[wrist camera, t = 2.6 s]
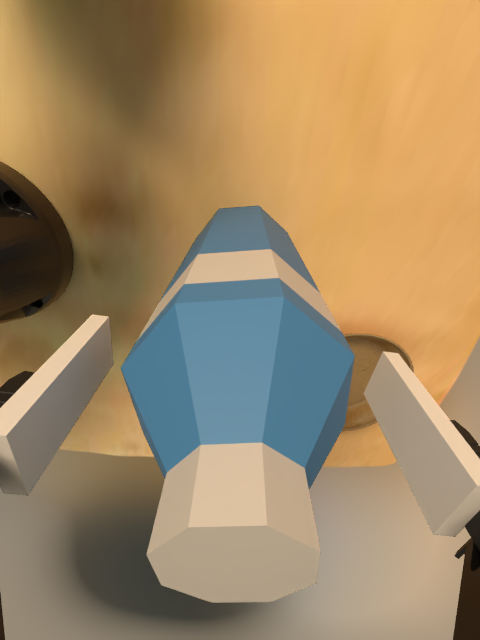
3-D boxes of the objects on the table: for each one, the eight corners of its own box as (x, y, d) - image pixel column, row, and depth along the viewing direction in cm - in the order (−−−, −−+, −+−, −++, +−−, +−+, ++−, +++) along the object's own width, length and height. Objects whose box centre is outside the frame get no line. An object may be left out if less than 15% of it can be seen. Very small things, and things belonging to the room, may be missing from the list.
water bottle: (304, 274, 30) (472, 608, 8) (223, 310, 32) (176, 652, 10) (266, 183, 25) (394, 348, 4) (176, 232, 28) (-78, 518, 6)
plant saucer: (371, 297, 31) (381, 308, 29) (422, 383, 37) (433, 398, 34) (258, 363, 36) (258, 377, 33) (318, 430, 41) (323, 446, 39)
